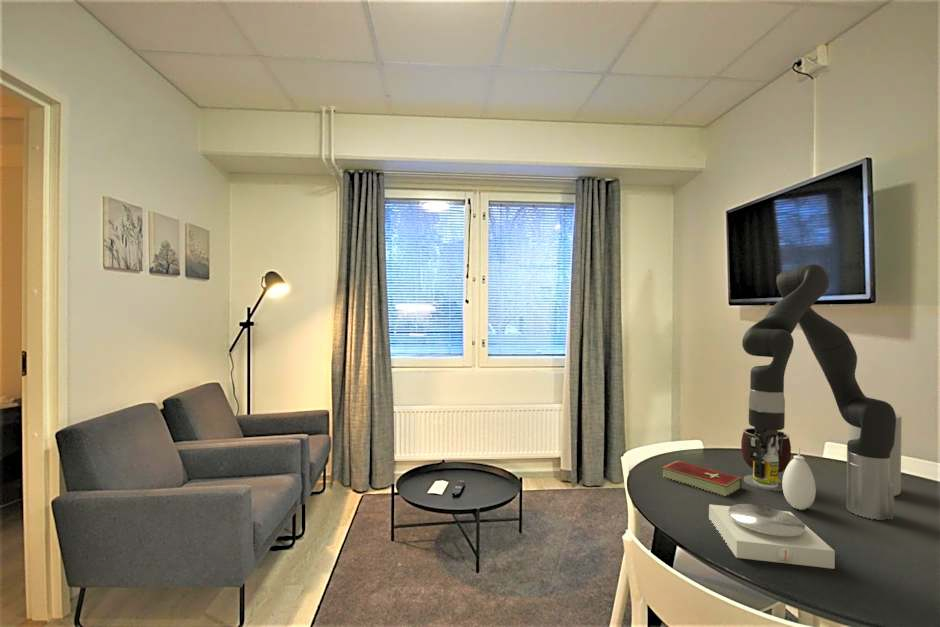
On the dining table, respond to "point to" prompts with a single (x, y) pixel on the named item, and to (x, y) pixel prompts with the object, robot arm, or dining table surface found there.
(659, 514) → the dining table surface
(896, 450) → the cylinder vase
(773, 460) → the supplement bottle
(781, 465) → the mate gourd
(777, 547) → the scale base
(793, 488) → the white rubber air blower
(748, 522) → the scale pan
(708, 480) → the hardcover book
